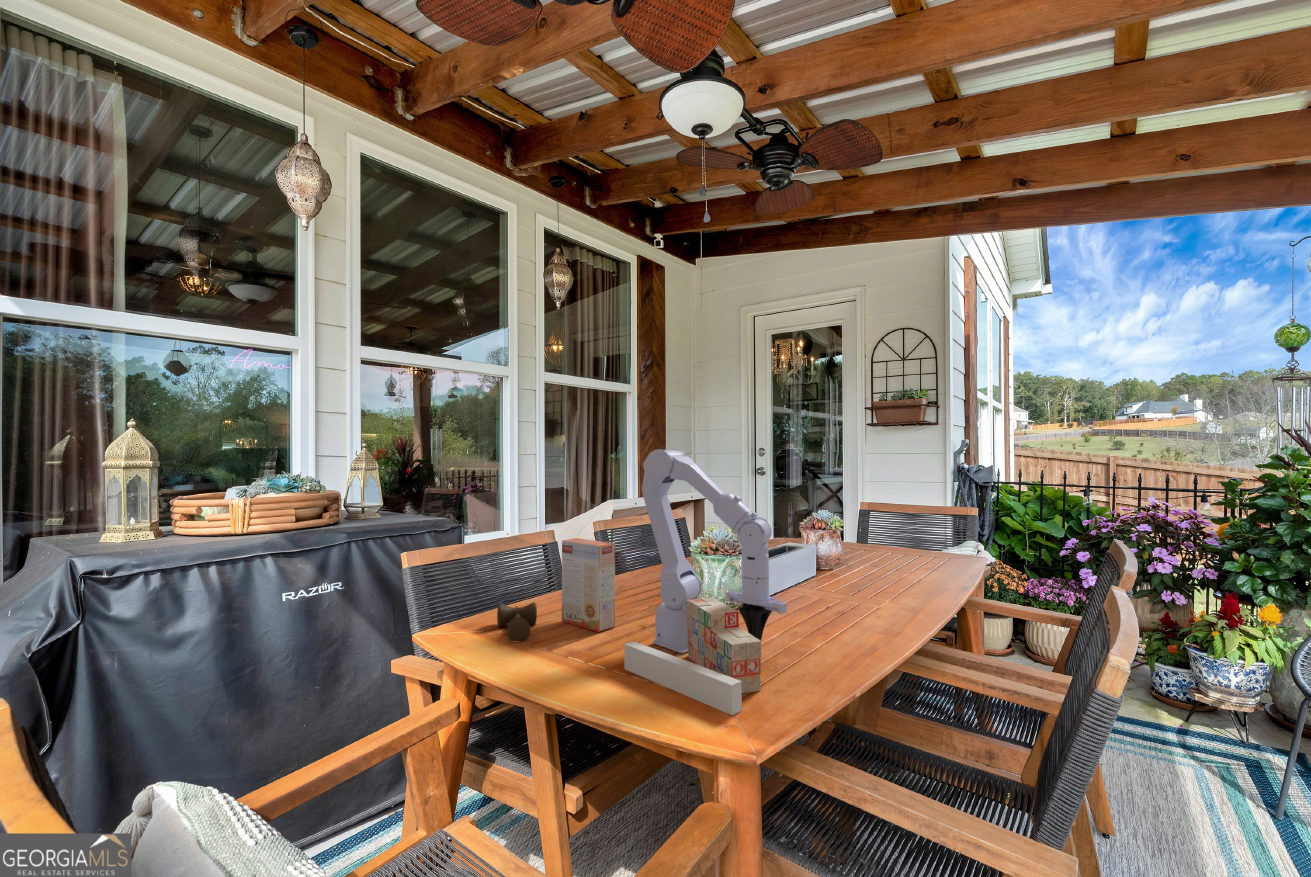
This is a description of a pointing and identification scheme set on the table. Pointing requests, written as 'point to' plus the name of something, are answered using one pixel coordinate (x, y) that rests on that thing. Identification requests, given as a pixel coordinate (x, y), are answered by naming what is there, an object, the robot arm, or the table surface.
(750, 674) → the stack of blocks
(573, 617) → the cracker box
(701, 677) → the grey board
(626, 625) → the table surface
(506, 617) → the kendama
